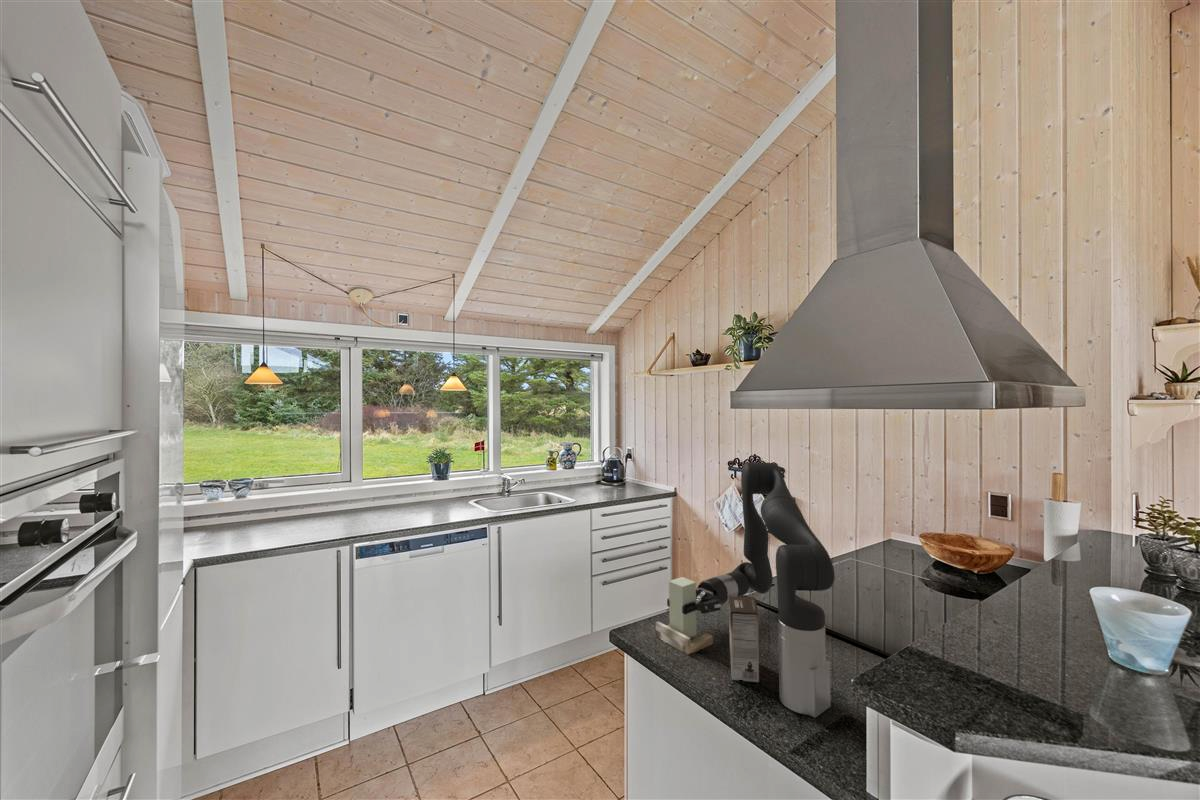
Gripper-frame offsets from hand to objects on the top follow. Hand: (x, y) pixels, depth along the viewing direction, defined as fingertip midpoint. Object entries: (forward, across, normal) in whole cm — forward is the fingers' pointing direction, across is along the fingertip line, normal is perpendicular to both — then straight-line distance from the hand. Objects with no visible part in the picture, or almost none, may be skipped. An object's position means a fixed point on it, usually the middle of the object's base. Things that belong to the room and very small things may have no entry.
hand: (675, 606), depth 130 cm
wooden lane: (-3, 0, +10) cm, 10 cm away
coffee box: (-4, +19, +10) cm, 22 cm away
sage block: (-3, 0, +8) cm, 8 cm away
